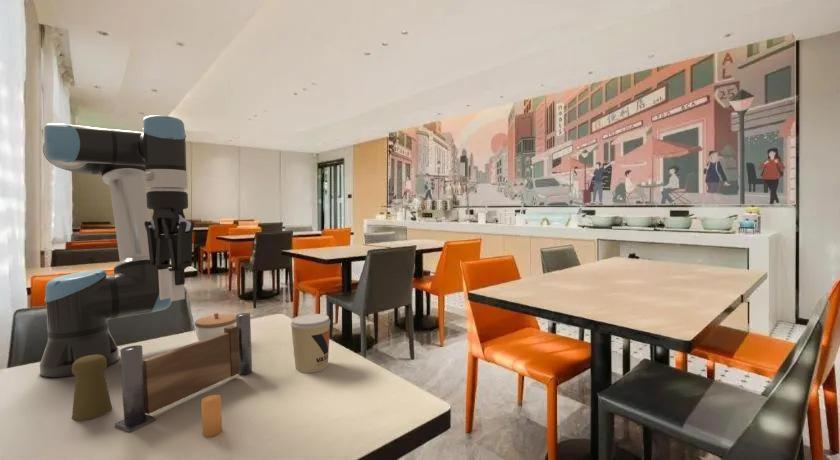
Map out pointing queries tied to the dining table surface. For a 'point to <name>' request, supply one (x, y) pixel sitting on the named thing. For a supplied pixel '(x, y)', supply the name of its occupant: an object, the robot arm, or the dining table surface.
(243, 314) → the gate frame
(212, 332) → the lidded jar
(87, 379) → the cork
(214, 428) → the post
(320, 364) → the coffee cup
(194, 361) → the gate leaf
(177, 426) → the dining table surface
